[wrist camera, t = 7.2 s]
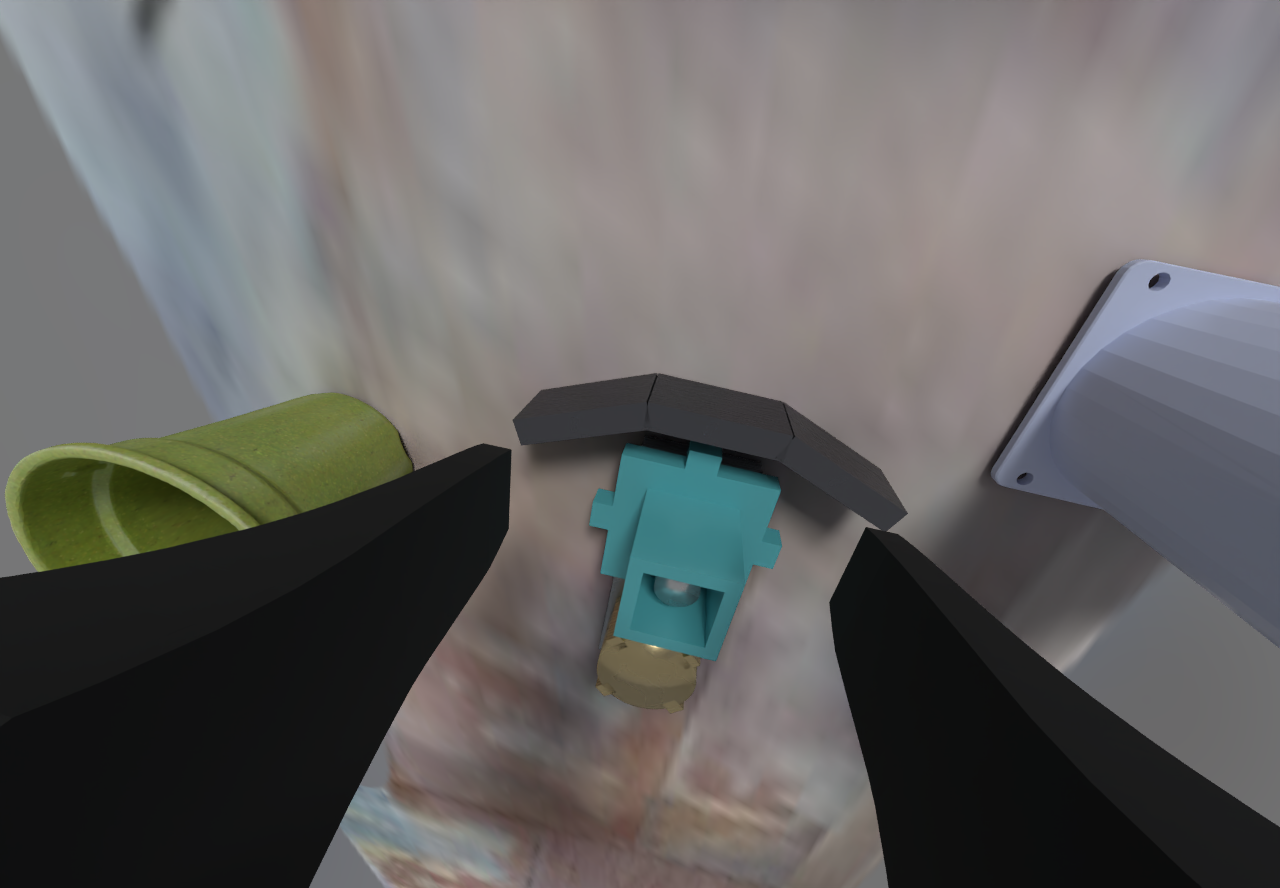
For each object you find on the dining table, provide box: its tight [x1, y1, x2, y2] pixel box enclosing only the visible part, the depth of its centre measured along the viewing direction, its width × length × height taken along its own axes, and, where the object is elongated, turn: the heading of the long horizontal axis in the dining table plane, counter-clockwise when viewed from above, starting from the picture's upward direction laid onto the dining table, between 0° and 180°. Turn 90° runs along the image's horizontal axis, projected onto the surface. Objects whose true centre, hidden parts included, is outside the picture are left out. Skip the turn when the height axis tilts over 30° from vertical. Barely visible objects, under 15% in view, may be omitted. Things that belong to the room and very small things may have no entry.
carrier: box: [513, 373, 908, 713], centre depth 19 cm, size 14×15×5 cm
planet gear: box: [589, 441, 782, 661], centre depth 17 cm, size 8×8×5 cm
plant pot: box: [5, 393, 413, 572], centre depth 18 cm, size 9×9×9 cm
